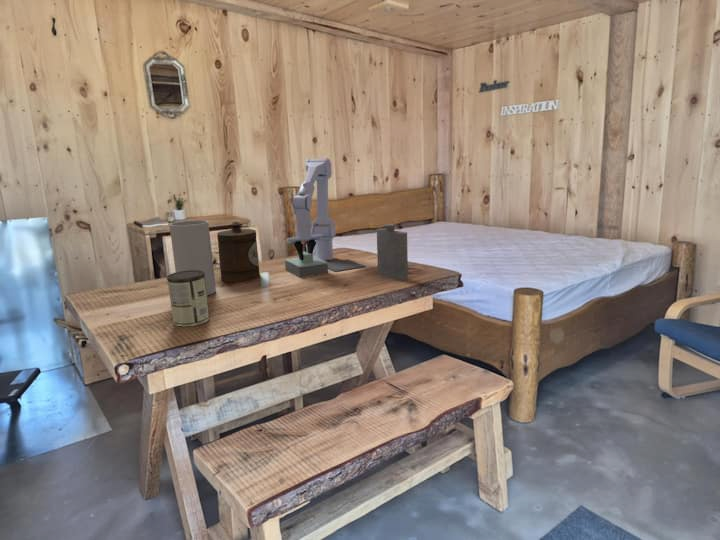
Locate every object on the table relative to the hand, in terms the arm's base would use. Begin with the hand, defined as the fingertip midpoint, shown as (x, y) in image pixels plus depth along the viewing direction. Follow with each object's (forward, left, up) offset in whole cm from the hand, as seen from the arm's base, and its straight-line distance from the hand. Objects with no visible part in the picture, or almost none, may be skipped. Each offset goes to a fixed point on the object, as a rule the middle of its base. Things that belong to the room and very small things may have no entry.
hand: (305, 259), depth 195 cm
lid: (0, 0, -2) cm, 2 cm away
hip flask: (+28, +23, -5) cm, 37 cm away
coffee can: (+36, -51, -5) cm, 63 cm away
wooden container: (-7, -25, -5) cm, 26 cm away
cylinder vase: (+7, -44, -5) cm, 45 cm away
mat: (0, +16, -5) cm, 17 cm away
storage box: (0, 0, -5) cm, 5 cm away
